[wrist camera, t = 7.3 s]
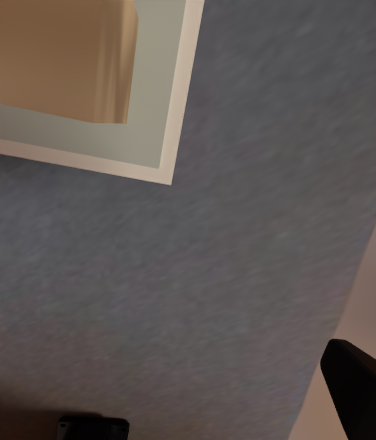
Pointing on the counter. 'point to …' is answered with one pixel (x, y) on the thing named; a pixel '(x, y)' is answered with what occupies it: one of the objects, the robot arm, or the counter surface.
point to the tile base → (137, 113)
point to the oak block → (68, 57)
